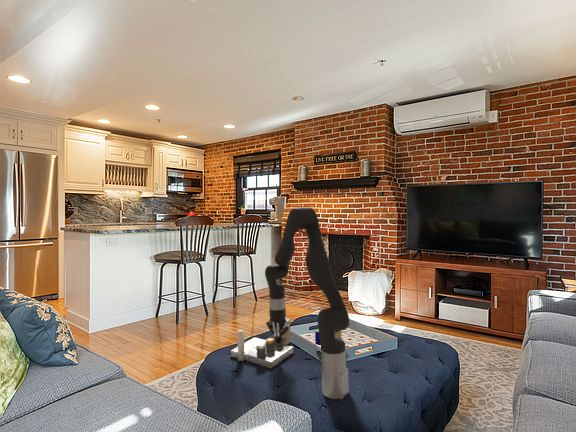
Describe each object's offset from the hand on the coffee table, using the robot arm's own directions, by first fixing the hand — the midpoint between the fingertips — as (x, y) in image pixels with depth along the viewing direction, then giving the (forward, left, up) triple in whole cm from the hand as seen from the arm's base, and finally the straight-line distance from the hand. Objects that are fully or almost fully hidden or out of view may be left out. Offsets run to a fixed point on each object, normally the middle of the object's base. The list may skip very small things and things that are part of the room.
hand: (278, 343), depth 172 cm
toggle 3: (+5, -7, -4) cm, 9 cm away
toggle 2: (+5, 0, -4) cm, 6 cm away
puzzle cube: (-15, -21, -8) cm, 27 cm away
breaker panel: (+10, 0, -8) cm, 12 cm away
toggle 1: (+5, +7, -4) cm, 10 cm away
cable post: (+15, +10, -8) cm, 19 cm away
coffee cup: (+10, -17, -8) cm, 21 cm away
